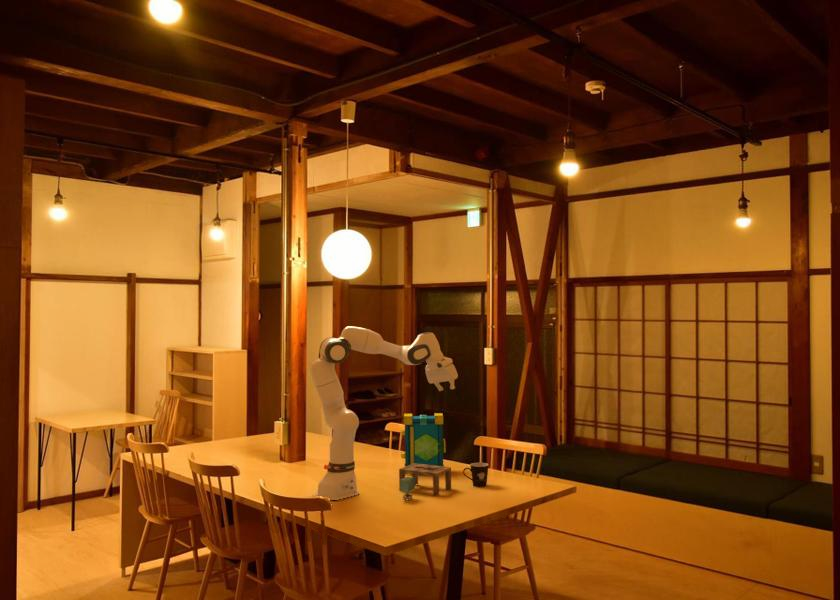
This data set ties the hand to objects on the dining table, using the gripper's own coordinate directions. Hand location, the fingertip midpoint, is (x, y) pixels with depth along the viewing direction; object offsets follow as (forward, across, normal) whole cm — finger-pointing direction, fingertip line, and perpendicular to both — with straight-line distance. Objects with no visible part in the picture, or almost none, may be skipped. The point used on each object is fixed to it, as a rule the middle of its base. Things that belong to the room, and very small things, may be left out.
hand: (447, 389), depth 329 cm
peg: (+34, +3, -44) cm, 56 cm away
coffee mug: (+47, +3, -7) cm, 48 cm away
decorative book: (+40, -34, -9) cm, 53 cm away
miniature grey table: (+38, -6, -29) cm, 48 cm away
